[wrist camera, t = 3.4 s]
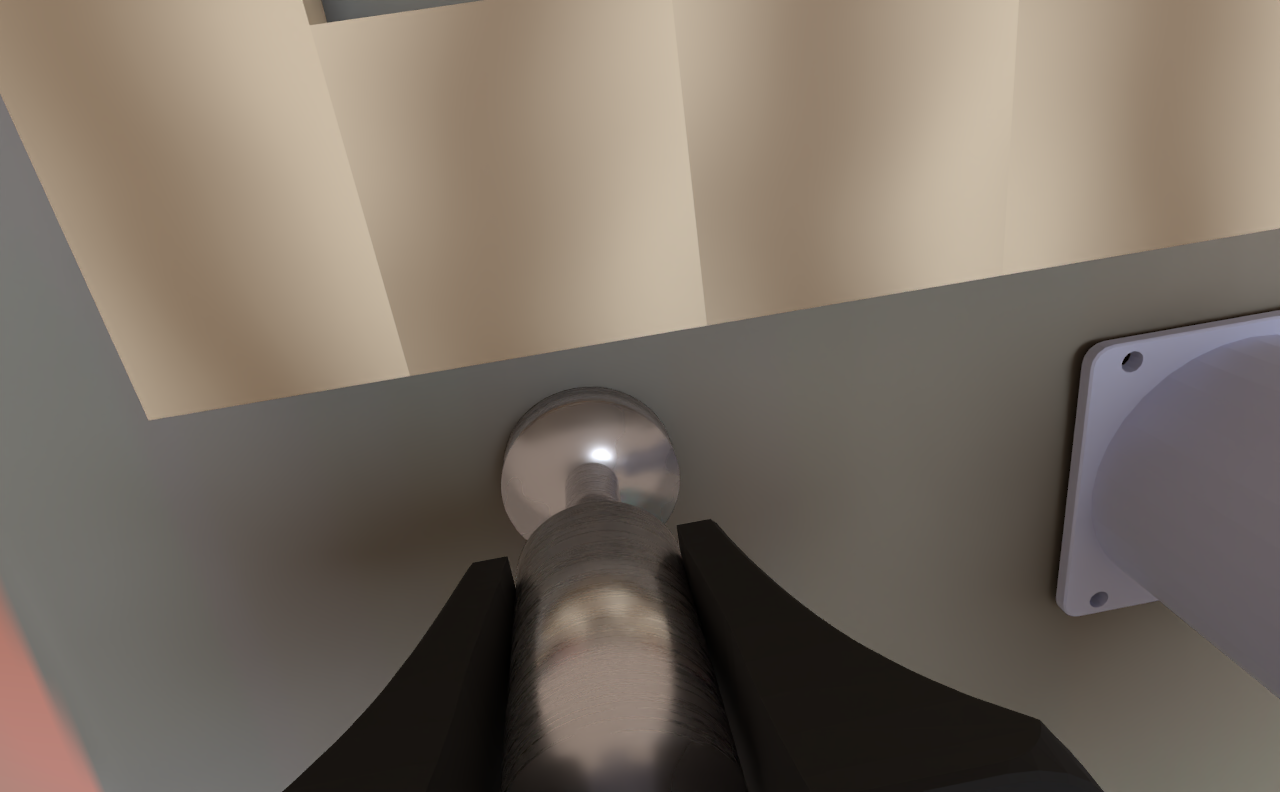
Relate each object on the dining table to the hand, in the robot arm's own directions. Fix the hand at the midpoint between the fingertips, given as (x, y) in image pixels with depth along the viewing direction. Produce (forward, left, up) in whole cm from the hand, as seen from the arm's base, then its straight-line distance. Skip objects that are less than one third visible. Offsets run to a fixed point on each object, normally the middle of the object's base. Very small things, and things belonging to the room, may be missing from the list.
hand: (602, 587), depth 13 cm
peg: (0, 0, -5) cm, 5 cm away
